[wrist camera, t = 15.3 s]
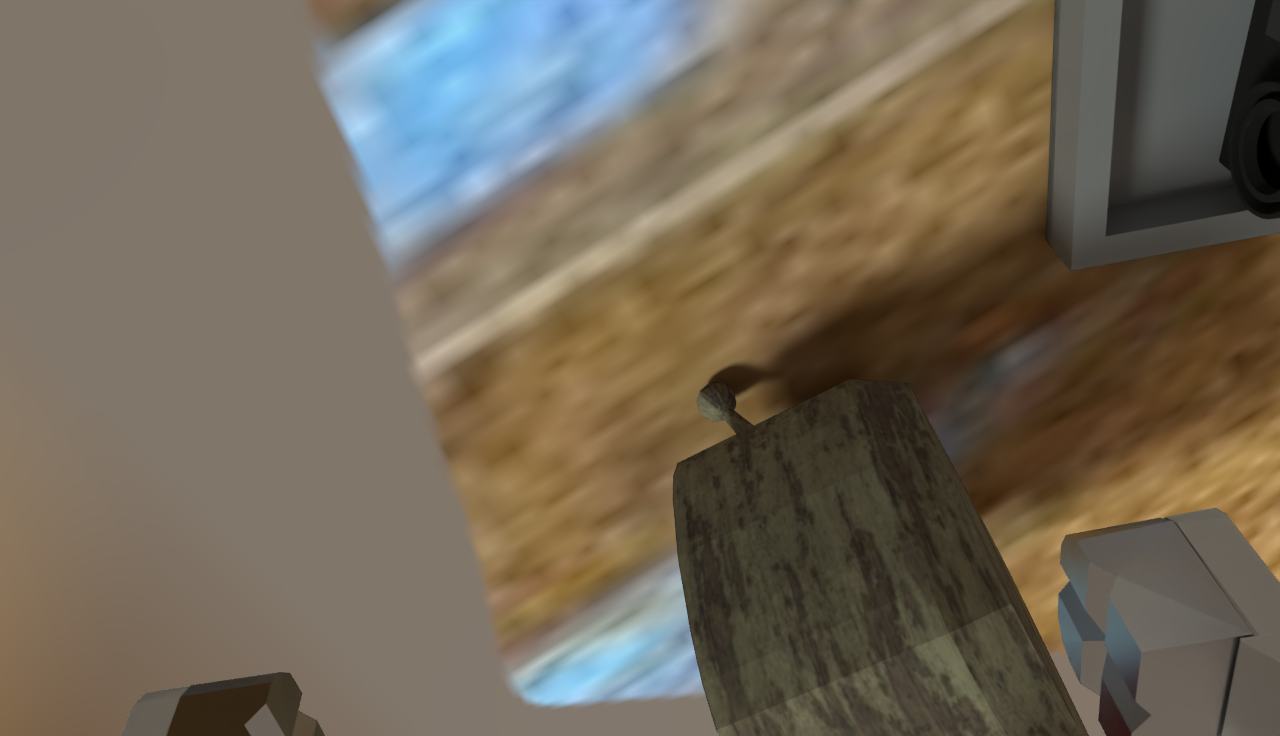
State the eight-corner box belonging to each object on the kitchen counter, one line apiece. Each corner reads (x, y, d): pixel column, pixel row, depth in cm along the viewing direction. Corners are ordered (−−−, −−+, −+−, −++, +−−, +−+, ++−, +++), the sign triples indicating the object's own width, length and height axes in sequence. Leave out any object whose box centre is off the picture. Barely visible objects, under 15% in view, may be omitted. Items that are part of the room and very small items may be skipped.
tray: (1062, -195, 34) (1095, -185, 32) (1502, -285, 33) (1565, -279, 31) (1046, 240, 42) (1071, 271, 40) (1395, 175, 42) (1438, 203, 40)
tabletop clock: (654, 376, 45) (736, 1010, 24) (854, 273, 43) (1132, 871, 22) (803, 586, 52) (964, 1211, 32) (979, 508, 50) (1277, 1122, 29)
